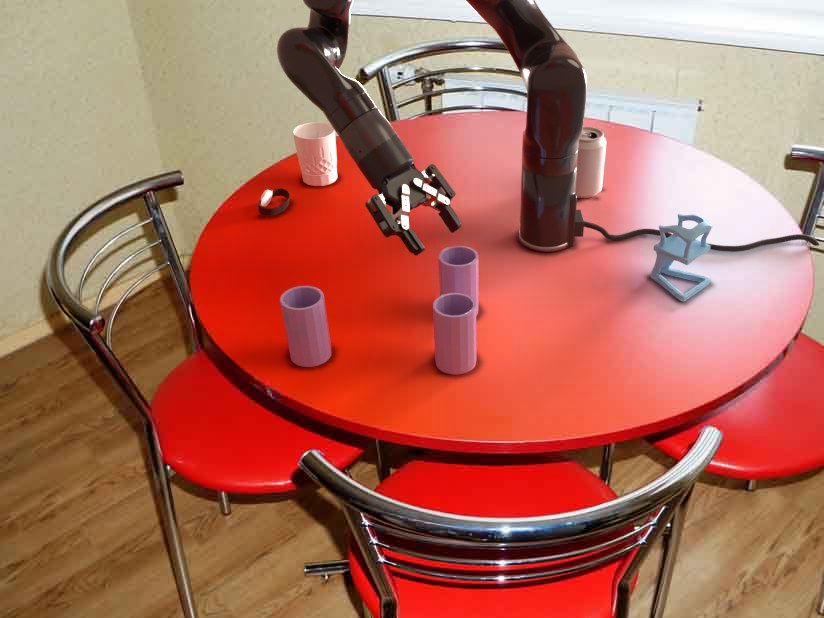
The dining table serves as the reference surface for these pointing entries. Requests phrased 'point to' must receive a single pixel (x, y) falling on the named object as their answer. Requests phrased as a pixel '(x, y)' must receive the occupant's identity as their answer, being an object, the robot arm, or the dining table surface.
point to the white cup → (316, 152)
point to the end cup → (306, 325)
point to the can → (590, 162)
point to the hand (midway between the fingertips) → (439, 241)
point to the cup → (455, 333)
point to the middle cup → (459, 272)
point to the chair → (681, 253)
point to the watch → (267, 198)
